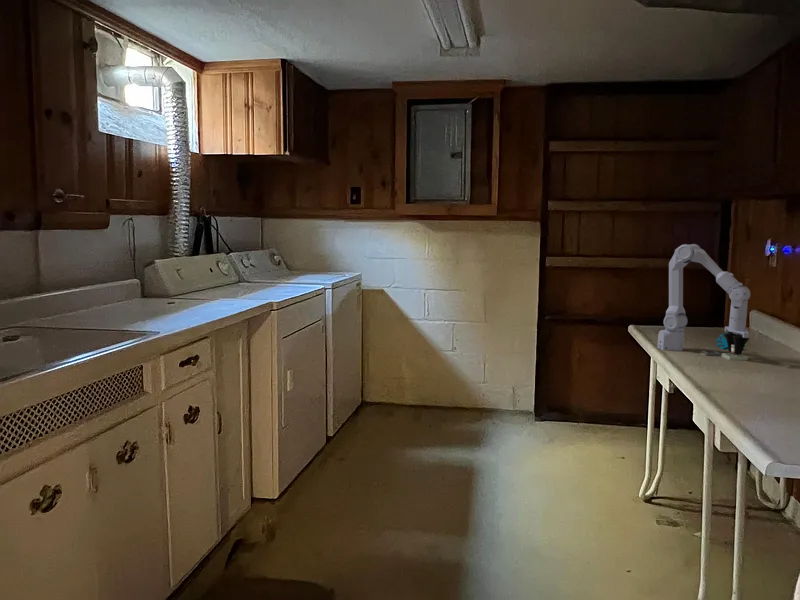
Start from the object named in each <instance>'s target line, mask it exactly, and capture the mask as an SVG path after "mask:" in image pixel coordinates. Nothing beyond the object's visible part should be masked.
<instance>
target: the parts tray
mask: <svg viewBox="0 0 800 600" xmlns="http://www.w3.org/2000/svg"><path fill="white" fill-rule="evenodd" d="M721 355H722V356H721V358H724V359H725V360H729V361H748V359H749V357H748V356H746V355H745V354H742V353H741V355H738V356H731V352H728V353H724V352H722V353H721Z"/></svg>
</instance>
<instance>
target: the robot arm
mask: <svg viewBox="0 0 800 600" xmlns="http://www.w3.org/2000/svg"><path fill="white" fill-rule="evenodd" d="M691 262H693V263H697V264H698V263H699V264H701V265H702V266H703V267H704V268H706V270H708V271H709V272H710V273H711V275H713V276H714V277H715V282H716V284H717V285H719V286H720V287H721V288H722V289H723V290H724V291H725V292H726V293H727V294H728V297H729V299H730V300H731V301H730V308H729V309H730V311H729V322H728V326H726V325H725V326H724V334H723V337H724V338H726V340H727V344H728V348H727V349H728V350H727V351H728V353H731V345H734V352H735V354H736V355H741V354H742V352H743V350H744V348H745V347H744V346H745V344H746V345H747V342H748V341H749V340H750V332H749V330H748V329H746V328H747V326H746V325H747V317H748V303H749V302H748V301H749V299H750V298H751V291H750V288H749V287H747V286H745V285H744V284H743V283H742V282H739V280H737V279H736V277H734V276H735V274H733V273H732V272H729V271H724V270H723V269H722V268H721V267H719V265H718V264H717V263H716V262H715V261H714V260H713V258H711V256H710V255H709V254H708V253H707V252H706V251H705V250H704V249H703V248H701V247H700V245H698V244H696V243H692V244H687V243H685V244H681V245H680V246H678V247H677V248H675V249H674V253H673V255H672V257H671V258H670V260H669V262H668V308H667V309H666V310H665V316H664V318H663V326H664V327H665V329H661V330H659V331H658V334H657V348H658V349H660V350H661V351H671V352H672V351H674V352H681V351H684V341H685V327H686V326H687V325H688V317H687V316H686V315H687V314H686V310H685V308H684V268H685V267H686V266H687V265H688V264H689V263H691Z"/></svg>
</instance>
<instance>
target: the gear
mask: <svg viewBox="0 0 800 600" xmlns="http://www.w3.org/2000/svg"><path fill="white" fill-rule="evenodd" d="M716 342H717V343H716V346H717V347H720V350H727V351H729V350H728V344H727V340H726V338H725V337H724V334H720V335H718V337H717V338H716ZM746 347H747V343H746V344H745V346H744V348H746Z"/></svg>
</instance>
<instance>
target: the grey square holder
mask: <svg viewBox="0 0 800 600" xmlns="http://www.w3.org/2000/svg"><path fill="white" fill-rule="evenodd" d="M699 354H701V355H702V356H706V357H722V353H721V352H718V351H716V350H701V349H700V352H699Z"/></svg>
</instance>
